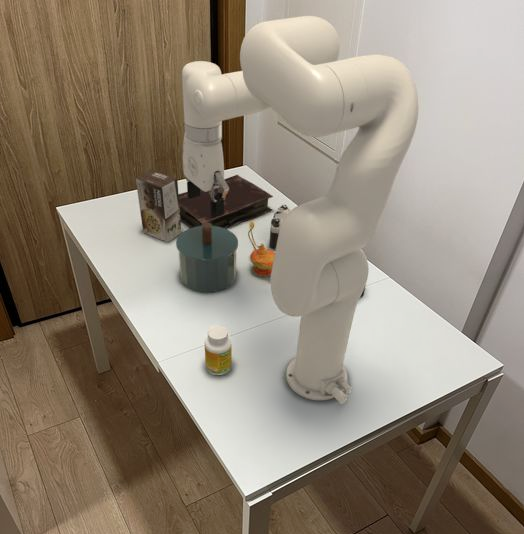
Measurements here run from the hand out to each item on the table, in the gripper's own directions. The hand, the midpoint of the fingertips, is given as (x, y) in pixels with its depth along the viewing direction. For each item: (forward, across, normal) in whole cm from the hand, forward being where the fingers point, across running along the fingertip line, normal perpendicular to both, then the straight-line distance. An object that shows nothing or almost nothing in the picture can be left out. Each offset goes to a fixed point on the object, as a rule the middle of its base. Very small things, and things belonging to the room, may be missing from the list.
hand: (205, 206), depth 120 cm
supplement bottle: (+19, +28, -15) cm, 37 cm away
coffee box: (+20, -24, 0) cm, 31 cm away
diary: (+20, -24, +20) cm, 37 cm away
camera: (+20, -2, +27) cm, 33 cm away
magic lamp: (+20, +8, +13) cm, 25 cm away
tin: (+19, 0, 0) cm, 19 cm away
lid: (+10, 0, 0) cm, 10 cm away
